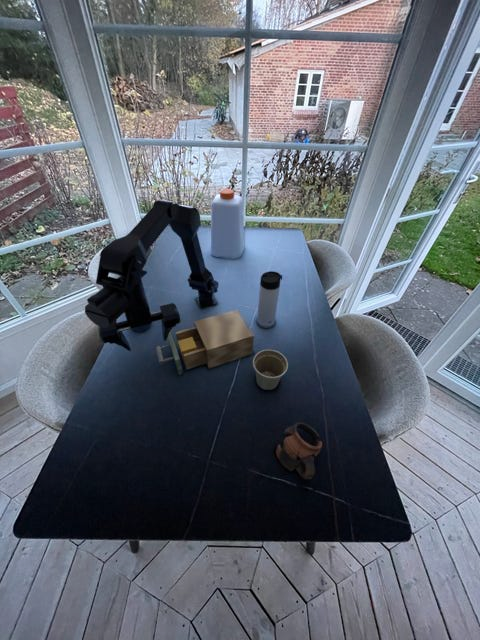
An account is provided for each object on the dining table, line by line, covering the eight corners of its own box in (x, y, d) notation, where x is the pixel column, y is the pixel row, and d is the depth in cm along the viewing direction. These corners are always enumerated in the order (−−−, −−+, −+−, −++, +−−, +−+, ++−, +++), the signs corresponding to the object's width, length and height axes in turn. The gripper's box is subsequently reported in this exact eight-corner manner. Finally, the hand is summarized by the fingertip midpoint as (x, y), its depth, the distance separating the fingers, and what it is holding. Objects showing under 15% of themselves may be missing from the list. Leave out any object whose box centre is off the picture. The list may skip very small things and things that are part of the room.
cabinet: (208, 368, 79) (206, 350, 73) (196, 339, 88) (193, 321, 82) (252, 354, 84) (254, 335, 78) (237, 328, 92) (237, 309, 86)
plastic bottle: (217, 242, 137) (214, 184, 118) (245, 245, 135) (247, 187, 116) (208, 257, 126) (204, 195, 107) (239, 261, 124) (241, 199, 105)
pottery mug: (268, 440, 65) (284, 416, 62) (299, 444, 68) (315, 421, 65) (285, 489, 55) (306, 464, 52) (321, 491, 58) (341, 467, 55)
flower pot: (286, 372, 79) (291, 354, 73) (279, 399, 72) (284, 382, 66) (256, 364, 81) (258, 345, 75) (247, 389, 74) (248, 371, 69)
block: (179, 350, 82) (177, 340, 79) (193, 346, 83) (192, 336, 80) (183, 361, 79) (181, 351, 76) (198, 356, 80) (196, 347, 77)
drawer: (164, 379, 75) (159, 365, 71) (156, 351, 83) (151, 336, 78) (222, 360, 81) (221, 346, 76) (210, 335, 88) (209, 320, 83)
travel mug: (274, 329, 92) (281, 282, 78) (255, 326, 93) (259, 279, 79) (276, 317, 96) (283, 271, 82) (258, 315, 97) (262, 268, 83)
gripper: (166, 272, 69) (174, 317, 80) (88, 288, 63) (108, 334, 74) (176, 297, 62) (184, 342, 72) (89, 317, 56) (112, 363, 66)
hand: (147, 344), depth 71 cm, fingers open, 9 cm apart
